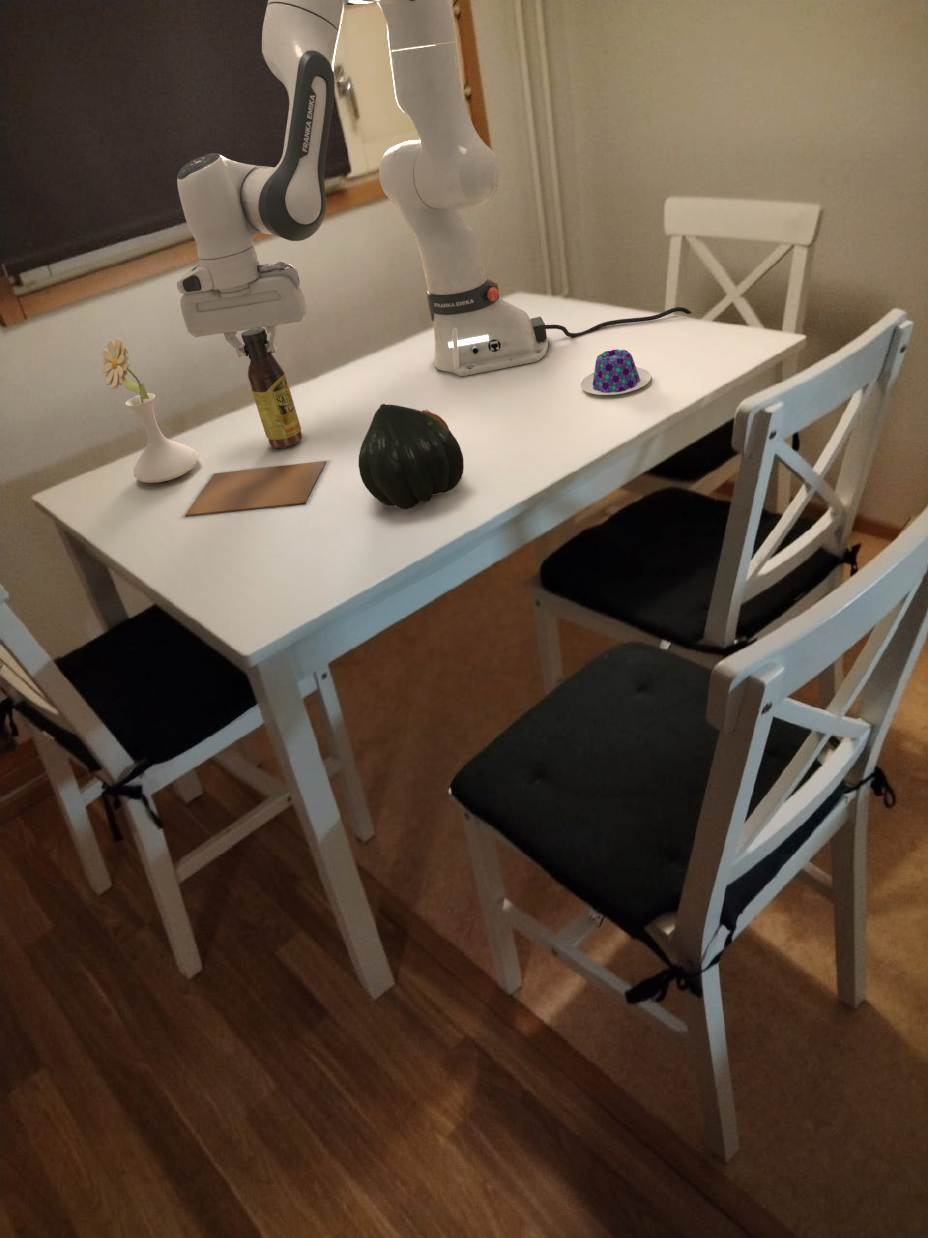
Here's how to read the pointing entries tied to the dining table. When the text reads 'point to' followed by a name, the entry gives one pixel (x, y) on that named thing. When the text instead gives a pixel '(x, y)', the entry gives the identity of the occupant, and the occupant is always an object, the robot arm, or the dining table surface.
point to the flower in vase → (147, 423)
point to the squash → (408, 457)
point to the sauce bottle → (271, 392)
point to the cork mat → (257, 488)
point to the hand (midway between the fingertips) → (258, 353)
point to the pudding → (615, 374)
